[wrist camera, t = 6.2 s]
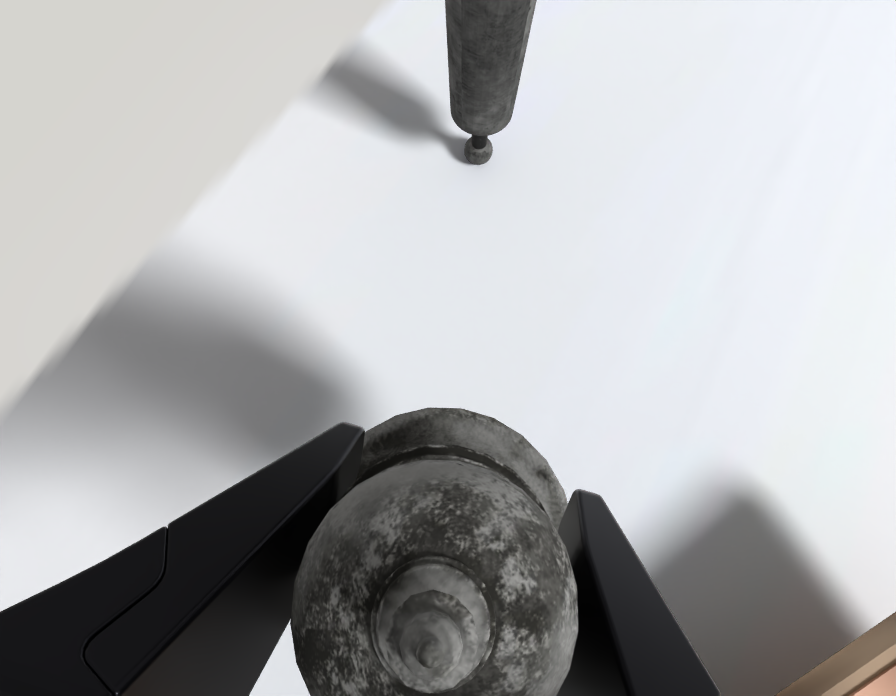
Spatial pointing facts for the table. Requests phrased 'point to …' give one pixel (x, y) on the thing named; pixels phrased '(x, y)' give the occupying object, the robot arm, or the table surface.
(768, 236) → the table surface
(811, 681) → the beam
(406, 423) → the grey rounded piece
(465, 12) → the microphone
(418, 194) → the table surface
